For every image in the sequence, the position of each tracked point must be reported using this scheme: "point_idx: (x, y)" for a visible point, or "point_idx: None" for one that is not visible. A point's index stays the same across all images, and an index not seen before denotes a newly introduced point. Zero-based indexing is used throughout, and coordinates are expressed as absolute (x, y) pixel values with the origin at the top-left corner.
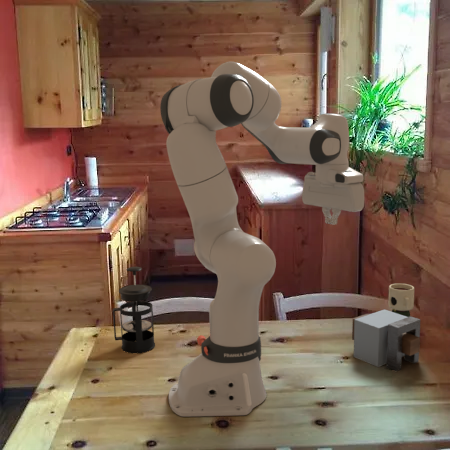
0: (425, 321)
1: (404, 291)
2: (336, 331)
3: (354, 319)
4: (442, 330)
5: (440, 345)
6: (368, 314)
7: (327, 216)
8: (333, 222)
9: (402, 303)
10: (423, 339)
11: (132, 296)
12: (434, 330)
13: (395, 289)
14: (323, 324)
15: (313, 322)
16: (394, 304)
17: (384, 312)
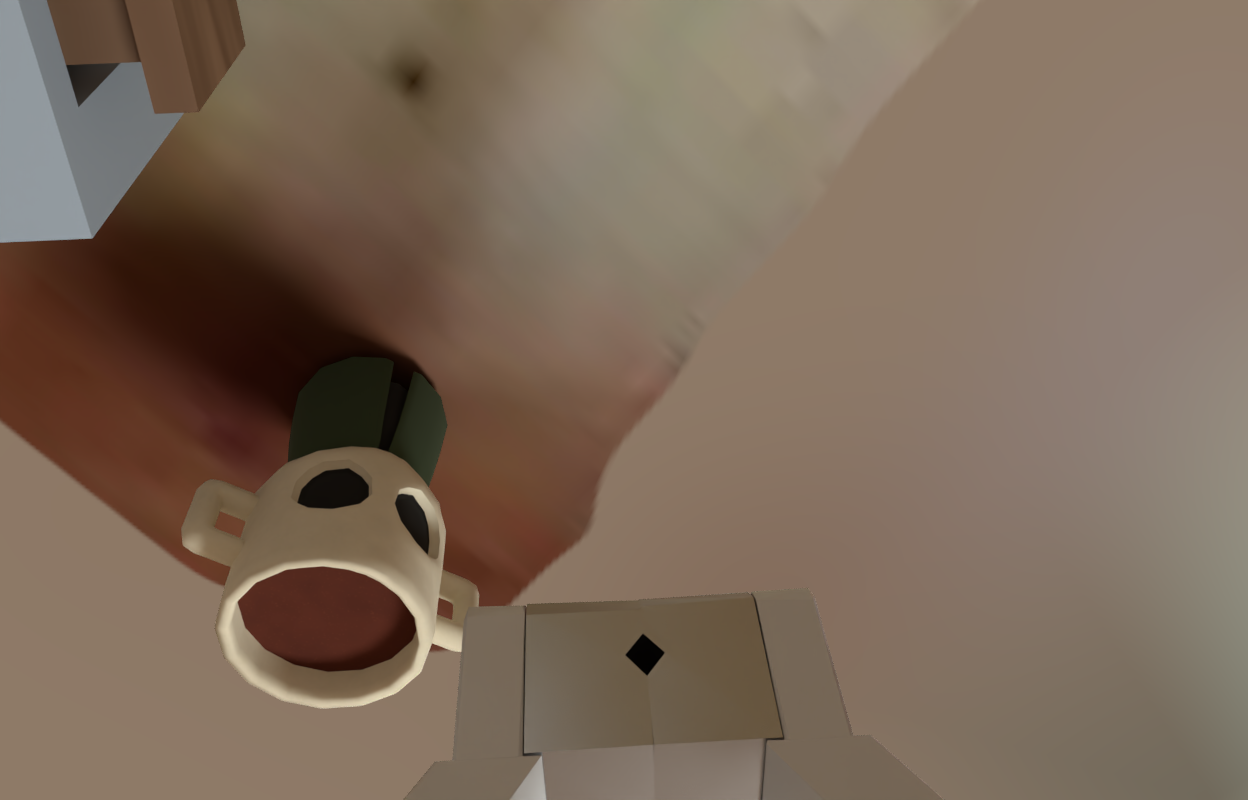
0: None
1: (229, 586)
2: (612, 24)
3: None
4: (214, 571)
5: (12, 399)
6: (168, 99)
7: (780, 789)
8: (465, 661)
9: (260, 506)
10: (146, 393)
11: None
12: None
13: (295, 563)
14: (793, 50)
15: (883, 14)
16: (327, 475)
17: (12, 177)
